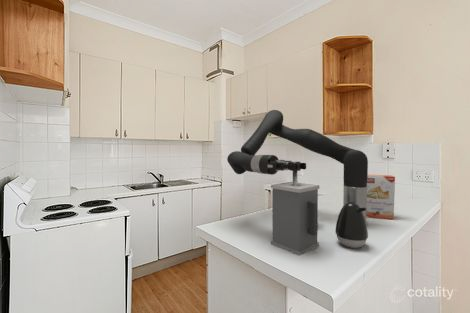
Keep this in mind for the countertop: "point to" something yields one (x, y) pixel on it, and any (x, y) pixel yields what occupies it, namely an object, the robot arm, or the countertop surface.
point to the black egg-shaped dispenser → (351, 226)
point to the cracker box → (380, 196)
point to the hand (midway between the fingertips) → (302, 166)
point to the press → (295, 217)
